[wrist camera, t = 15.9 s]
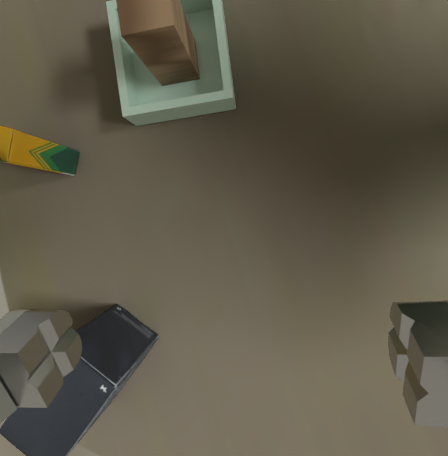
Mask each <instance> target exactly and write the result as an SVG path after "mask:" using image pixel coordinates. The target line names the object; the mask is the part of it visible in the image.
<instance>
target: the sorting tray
mask: <svg viewBox="0 0 448 456" xmlns="http://www.w3.org/2000/svg"><path fill="white" fill-rule="evenodd" d="M179 1H180V3H181V6H182V8H183V11H184V13H185V16H186V18H187V21H188V23H189V26H190V29H191V31H192V34H193V36H194V39H195V45H196V52H197V60H198V67H199V75H200V79H198V80H193V81H187V82H182V83H177V84H171V85H166V86H162V85H161V84H160V83H159V81H158V80H157V79H156V78H155V76H154V75H153V74H152V73H151V72H150V70H149V69H148V68H147V67H146V65H145V64H144V63H143V62H142V61H141V59H140V58H139V57H138V56H137V54H136V53H135V52H134V51H133V50H132V48H131V47H130V46H129V45H128V44H127V42H126V41H125V40H124V39H123V37H122V36H121V31H120V24H119V17H118V10H117V3H116V0H112V1H108V2H106V5H107V12H108V19H109V26H110V33H111V40H112V47H113V54H114V61H115V68H116V75H117V81H118V88H119V95H120V102H121V109H122V116H123V117H124V118H125V119H127V120H128V121H130V122H131V123H133V124H135V125H136V126H140V125H146V124H151V123H157V122H163V121H169V120H175V119H181V118H187V117H193V116H199V115H204V114H210V113H216V112H222V111H228V110H234V109H236V102H235V94H234V86H233V78H232V70H231V63H230V55H229V47H228V39H227V31H226V23H225V16H224V8H223V1H222V0H179Z"/></svg>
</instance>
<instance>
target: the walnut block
mask: <svg viewBox="0 0 448 456" xmlns="http://www.w3.org/2000/svg"><path fill="white" fill-rule="evenodd" d="M116 3H117V10H118V17H119V24H120V31H121V36H122V37H123V39H124V40H125V41H126V42H127V44H128V45H129V46H130V47H131V48H132V50H133V51H134V52H135V53H136V54H137V56H138V57H139V58H140V59H141V61H142V62H143V63H144V64H145V65H146V67H147V68H148V69H149V70H150V72H151V73H152V74H153V75H154V76H155V78H156V79H157V80H158V81H159V83H160V84H161V85H162V86H166V85H171V84H177V83H182V82H187V81H193V80H198V79H200V75H199V67H198V60H197V52H196V45H195V39H194V36H193V34H192V31H191V29H190V26H189V23H188V21H187V18H186V16H185V13H184V11H183V8H182V6H181V3H180V1H179V0H116Z"/></svg>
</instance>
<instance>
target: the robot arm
mask: <svg viewBox="0 0 448 456" xmlns="http://www.w3.org/2000/svg"><path fill="white" fill-rule="evenodd" d="M390 318H391V321H392V323H393V325H394V328H393V329H392V330H391V331H390V332H389V336H388V347H389V356H390V360H391V364H392V367H393V370H394V373H395V376H396V377H397V378H398V379H400V380H401V381H402V382H403V383H404V387H403V397H404V399H405V402H406V404H407V407H408V409H409V412H410V415H411V417H412V420H413V422H414V425H422V426H435V427H448V300H443V301H425V302H393V303H392V306H391V310H390ZM72 323H73V320H72V318H71V316H70V314H69V312H68V311H65V310H62V309H31V310H14V311H10V312H8V313H7V314H6V315H5V316H4V317H3V318H1V319H0V423H1V422H2V421H4V420H5V419H6V418H7V417H9V416H10V415H11V414H12V413H14V412H15V411H16V410H17V407H25V408H48V406H49V405H50V403H51V402H52V400H53V399H54V397H55V396H56V395H57V393H58V392H59V390H60V389H61V387H62V386H63V377H64V376H66V375H67V374H68V373H70V372H71V371H73V370H74V368H75V367H76V365H77V364H78V362H79V361H80V357H81V353H82V341H81V339H80V336H79V334H78V333H77V332H76V331H74V330H73V329H72V328H71V326H72Z"/></svg>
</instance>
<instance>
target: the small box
mask: <svg viewBox="0 0 448 456" xmlns="http://www.w3.org/2000/svg"><path fill="white" fill-rule="evenodd" d="M76 332H77V333H78V334H79V336H80V339H81V341H82V353H81V357H80V361H79V362H78V364H77V365H76V367H75V368H74V370H73V371H71V372H70V373H68V374H67V375H66V376H64V377H63V386H62V387H61V389H60V390H59V392H58V393H57V395H56V396H55V397H54V399H53V400H52V402H51V403H50V405H49V406H48V408H25V407H17V410H16V411H15V412H14V413H12V414H11V415H10V416H9V417H8V418H7V419H6V421H5V422H4V424H3V425H2V426H1V428H0V434H1V435H3V436H4V437H5V438H6V439H7V440H8V441H9V442H11V443H12V444H13V445H14V446H15V447H16V448H18V449H19V450H20V451H21V452H23V453H24V454H25V455H26V456H68V454H69V453H70V452H71V451H72V450H73V448H74V447H75V446H76V445H77V443H78V442H79V441H80V440H81V438H82V437H83V436H84V435H85V433H86V432H87V431H88V430H89V429H90V427H91V426H92V425H93V424H94V422H95V421H96V420H97V419H98V417H99V416H100V415H101V414H102V413H103V411H104V410H105V409H106V408H107V407H108V406H109V405H110V404H111V402H112V401H113V399H114V398H115V397H116V395H117V394H118V393H119V391H120V390H121V389H122V387H123V386H124V385H125V384H126V382H127V381H128V379H129V378H130V377H131V375H132V374H133V372H134V371H135V370H136V368H137V367H138V366H139V365H140V363H141V362H142V360H143V359H144V358H145V356H146V355H147V353H148V352H149V351H150V349H151V348H152V346H153V345H154V343H155V342H156V341H157V339H158V338H159V336H158V334H156V332H154V331H152V330H151V329H149V327H147V326H145V325H144V324H143V323H142V322H140V321H139V320H138V319H137V318H135V317H134V316H133V315H131V314H130V312H128V311H127V310H125V309H124V308H122V307H121V306H119V305H118V304H116V305H115V306H113V307H112V308H110V309H109V310H107V311H106V312H104V313H103V314H101V315H100V316H98V317H97V318H95V319H93V320H92V321H90V322H89V323H87V324H86V325H84V326H83V327H81V328H79V329H78V330H76Z"/></svg>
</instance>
